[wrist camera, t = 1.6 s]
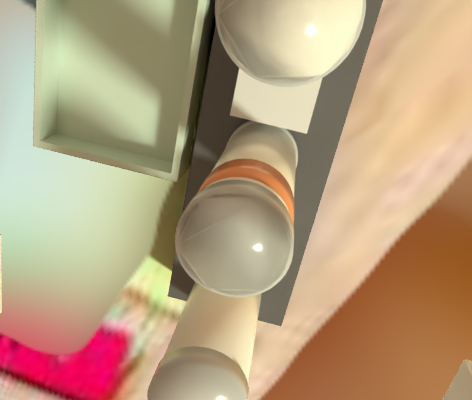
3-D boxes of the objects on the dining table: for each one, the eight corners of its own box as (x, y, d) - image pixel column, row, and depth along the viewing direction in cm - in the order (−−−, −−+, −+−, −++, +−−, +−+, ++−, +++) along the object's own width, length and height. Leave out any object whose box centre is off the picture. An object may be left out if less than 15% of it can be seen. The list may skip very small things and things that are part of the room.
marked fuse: (221, 176, 30) (166, 280, 18) (235, 110, 28) (184, 177, 16) (288, 192, 30) (277, 309, 18) (306, 127, 28) (307, 208, 16)
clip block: (178, 275, 37) (153, 324, 31) (243, -82, 27) (225, -110, 21) (282, 302, 37) (278, 358, 31) (390, -50, 26) (416, -70, 20)
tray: (55, 135, 34) (33, 146, 31) (63, -56, 29) (37, -64, 26) (187, 168, 33) (176, 182, 31) (220, -21, 28) (211, -25, 25)
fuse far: (200, 280, 33) (141, 425, 21) (211, 226, 31) (154, 353, 20) (259, 295, 33) (234, 451, 21) (274, 242, 31) (255, 380, 19)
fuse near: (248, 46, 27) (203, 69, 15) (266, -39, 25) (231, -92, 13) (323, 63, 26) (340, 101, 14) (347, -21, 24) (387, -58, 13)
